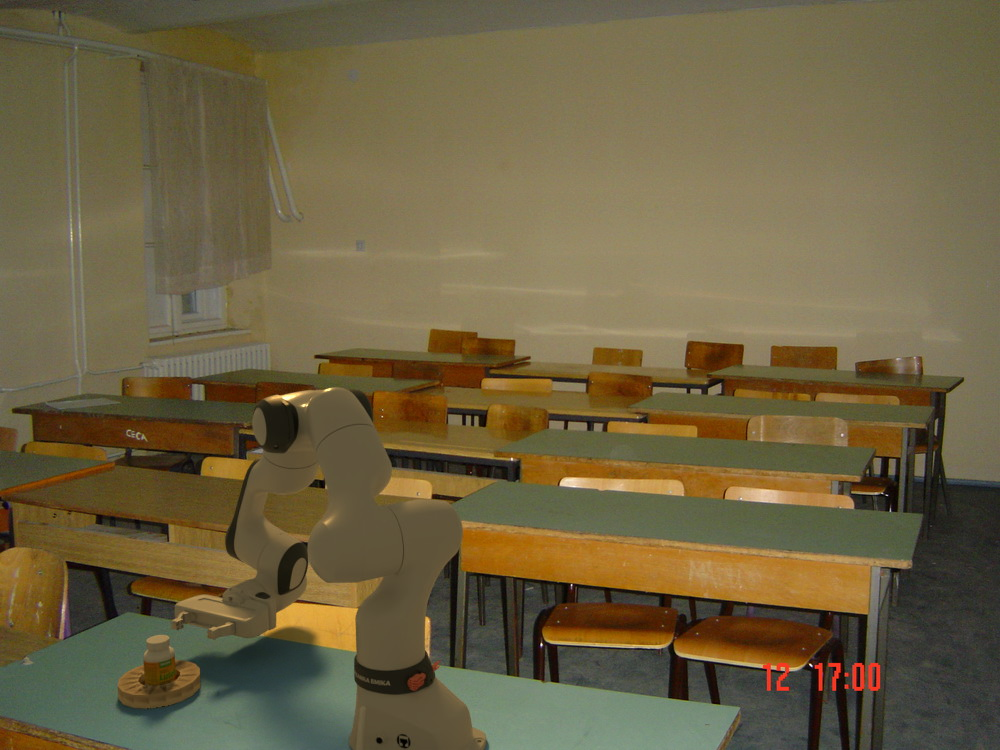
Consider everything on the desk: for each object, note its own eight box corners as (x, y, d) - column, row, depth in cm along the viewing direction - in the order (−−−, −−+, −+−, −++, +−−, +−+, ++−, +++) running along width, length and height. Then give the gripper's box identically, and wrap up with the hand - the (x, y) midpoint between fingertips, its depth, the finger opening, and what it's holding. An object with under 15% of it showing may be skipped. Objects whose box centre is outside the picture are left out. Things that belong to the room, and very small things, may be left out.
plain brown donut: (216, 681, 173) (216, 669, 172) (157, 715, 160) (156, 701, 160) (163, 666, 179) (162, 654, 179) (101, 697, 167) (100, 684, 166)
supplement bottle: (162, 698, 166) (158, 647, 165) (138, 693, 168) (135, 642, 167) (183, 685, 171) (180, 635, 170) (160, 680, 173) (157, 631, 172)
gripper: (204, 582, 192) (151, 605, 180) (281, 598, 183) (230, 624, 171) (206, 611, 193) (153, 636, 181) (282, 629, 184) (232, 656, 172)
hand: (191, 630), depth 176 cm, fingers open, 8 cm apart
